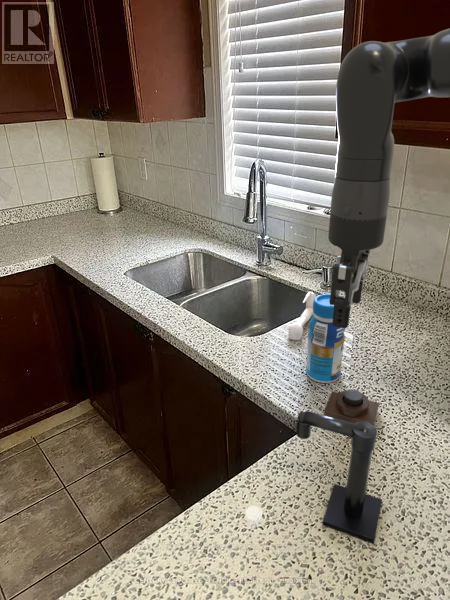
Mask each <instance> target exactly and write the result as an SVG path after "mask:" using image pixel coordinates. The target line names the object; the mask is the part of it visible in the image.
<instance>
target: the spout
mask: <svg viewBox="0 0 450 600" xmlns="http://www.w3.org/2000/svg"><path fill="white" fill-rule="evenodd" d="M312 427H314V428H317V429H320V430H321V429H322V430H324V431H329V432H332V433H335V434H339V435H342V436H346V437H348V438H349V437H350V445H351V447H353V448H354V449H355V450H356V451H358V452H361V453H369V452H372V453H373V451H374V450H375V445H376V439H377V435H378V430H377V428H376V426H375V425H374V426H373V425H372V424H370V423H368V422H363V421H361V422H357V423H355V424H354V423H350V422H346V421H343V420H339V419H335V418H331V417H328V416H324V414H320V413H317V412H313V411H309V410H301V411H299V413H298V414H297V418H296V433H295V434H296V436H297V437H298V438H299V439H301V440H308V439H309V438H310V437H311V434H312V433H311V432H312Z"/></svg>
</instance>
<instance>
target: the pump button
mask: <svg viewBox="0 0 450 600" xmlns="http://www.w3.org/2000/svg"><path fill="white" fill-rule="evenodd" d="M344 391H345V390H344ZM360 392H361V391H359V390H357V389H354V388H353V389H351V388H350V389H347V391H345V393H344V403H345V404H347V405H349V406H353V407H357V406H360V405H361V403H362V394H363V393H362V392H361V393H362V394H361V393H360Z"/></svg>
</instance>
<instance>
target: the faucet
mask: <svg viewBox="0 0 450 600" xmlns="http://www.w3.org/2000/svg"><path fill="white" fill-rule="evenodd" d="M316 296H317V295H316V294H315V292H313V291H308V292H307V293H306V294H305V297H304V299H303V301H302V304H304V303H305V309H304V311H303V312H302V313H301V315H300V317H299V319H298V320H297V322H293V323H291V324H290V325H289V326H288V328H287V329H288V330H287V331H288V338H289V339H290V340H292V341H300V340H302V338H303V333H304V328H303V327H304V325H305V324H306V323H309V321H310V320H311V318H312V317H313V315H314V313H313V301H314V298H315V297H316Z"/></svg>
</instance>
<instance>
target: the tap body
mask: <svg viewBox="0 0 450 600" xmlns="http://www.w3.org/2000/svg"><path fill="white" fill-rule="evenodd" d="M372 456H373V451H372V452H369V453H361V452H358V451H356V450H355V449H354V448H353V447H352V446H351V448H350V458H349V464H348V471H347V480H346V486H342V485H340V484H336V483H334V484H333V487H332V489H331V494H330V496H329V499H328V503H327V506H326V509H325V513H324V516H323V519H322V526H323V527H327V528H330V529H332V530H335V531H337V532H340V533H343V534H346V535H348V536H351V537H354V538H356V539H359V540H362V541H365V542H367V543H370V544H373V545H374V544H375V540H376V535H377V529H378V523H379V519H380V513H381V507H382V502H383V498H380V497H377V496H373V495H370V494H368V493H366V492H367V487H368V481H369V476H370V475H369V474H370V469H371V467H370V466H371V461H372Z"/></svg>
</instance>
